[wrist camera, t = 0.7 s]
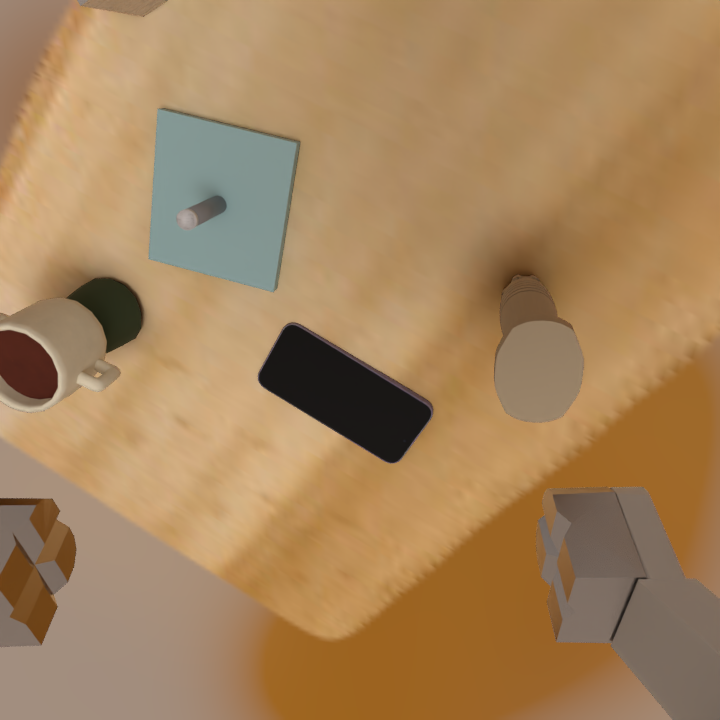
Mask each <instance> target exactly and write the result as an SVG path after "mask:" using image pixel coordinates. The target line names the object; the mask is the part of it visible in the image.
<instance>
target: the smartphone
mask: <svg viewBox="0 0 720 720" xmlns="http://www.w3.org/2000/svg"><path fill="white" fill-rule="evenodd" d="M258 381H259V383H260V384H261V386H262V387H264V388H265V389H266V390H268V391H270V392H271V393H273V394H275V395H276V396H278V397H280V398H281V399H283V400H285V401H286V402H288V403H289V404H291V405H293V406H294V407H296V408H298V409H299V410H301V411H303V412H304V413H306V414H308V415H309V416H311V417H312V418H314V419H316V420H317V421H319V422H321V423H322V424H324V425H326V426H327V427H329V428H331V429H332V430H334V431H335V432H337V433H339V434H340V435H342V436H344V437H345V438H347V439H349V440H350V441H352V442H354V443H355V444H357V445H358V446H360V447H362V448H363V449H365V450H367V451H368V452H370V453H372V454H373V455H375V456H377V457H378V458H380V459H381V460H383V461H385V462H387V463H397V462H399V461H400V460H401V459H402V458H403V456H404V455H405V454H406V452H407V451H408V450H409V448H410V447H411V445H412V444H413V443H414V441H415V440H416V439H417V437H418V436H419V435H420V433H421V432H422V431H423V429H424V428H425V426H426V425H427V424H428V422H429V421H430V420H431V418H432V414H433V407H432V405H431V403H430V402H429V401H427V400H426V399H424V398H423V397H421V396H420V395H418V394H416V393H415V392H413V391H411V390H410V389H408V388H406V387H405V386H403V385H401V384H400V383H398V382H396V381H395V380H393V379H391V378H390V377H388V376H386V375H385V374H383V373H381V372H380V371H378V370H376V369H375V368H373V367H371V366H369V365H368V364H366V363H364V362H363V361H361V360H359V359H358V358H356V357H354V356H353V355H351V354H349V353H348V352H346V351H344V350H342V349H341V348H339V347H337V346H336V345H334V344H332V343H331V342H329V341H327V340H326V339H324V338H322V337H321V336H319V335H317V334H316V333H314V332H312V331H310V330H309V329H307V328H305V327H304V326H302V325H300V324H298V323H289V324H287V325H286V326H285V327H284V328H283V330H282V331H281V333H280V335H279V337H278V339H277V340H276V342H275V344H274V346H273V348H272V349H271V351H270V353H269V355H268V357H267V359H266V360H265V362H264V364H263V366H262V368H261V370H260V371H259V374H258Z"/></svg>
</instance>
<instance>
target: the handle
mask: <svg viewBox="0 0 720 720" xmlns="http://www.w3.org/2000/svg"><path fill="white" fill-rule="evenodd" d="M539 281H540V280H539V279H538V277H536V276H534V275H531V276H521V275H519V274H518V275H515V276H513V279H512V281H511V283H510V284H509V285H508V286H507V287H506V288H504V290H503V292H502V298H501V304H500V324H501V329H502V333H503V337H502V339H501V341H500V343H499V345H498V347H497V349H496V355H495V367H494V383H495V388H496V392H497V395H498V397H499V399H500V402H501V404H502V406H503V408H504V410H505V412H506V413H507V414H508V415H510V416H512V417H514V418H516V419H518V420H522V421H526V422H539V423H542V422H549V421H553V420H556V419H558V418H561V417H563V415H564V414H565V413H566V411H567V410H568V409H569V407H570V406H571V405H572V403H573V402H574V400H575V399H576V397H577V395H578V393H579V391H580V388H581V384H582V376H583V369H584V358H583V354H582V350H581V348H580V345H579V342H578V340H577V337H576V335H575V332H574V330H573V327H572V325H571V324H570V323H568V322H567V321H565V320H563V319H561V318H559V317H557V311H556V308H555V305H554V302H553V299H552V297H551V295H550V293H549V292H548V290H547V289H546V288H545V286H544V285H542V284H541V283H540V282H539Z"/></svg>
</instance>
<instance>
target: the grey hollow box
mask: <svg viewBox="0 0 720 720" xmlns="http://www.w3.org/2000/svg"><path fill="white" fill-rule="evenodd" d="M77 1H78V2H79V4H80V6H84V7H90V8H96V9H101V10H107V11H113V12H119V13H125V14H130V15H136V16H142V17H144V16H145V15H147V14H148V13H150V12H151V11H153V10H154V9H156V8H157V7H159V6H160V5H162V4H163V3H165V2H166V1H168V0H77Z"/></svg>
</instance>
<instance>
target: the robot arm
mask: <svg viewBox="0 0 720 720" xmlns="http://www.w3.org/2000/svg"><path fill="white" fill-rule="evenodd" d="M542 505H543V510H544V514H545V515H544V516H543V517H542V518H540V519H539V520H538V525H537V531H536V552H537V559H538V565H539V569H540V574H541V577H542V578H543V579H544V580H545V581H546V582H547V583H548V584H549V585H550V586H551V588H550V592H549V596H548V600H547V605H548V609H549V613H550V617H551V622H552V626H553V630H554V634H555V639H556V642H581V643H582V642H583V643H585V642H586V643H612V644H611V647H612V648H613V649H614V650H615V652H616V653H617V654H618V655H619V656H620V658H621V659H622V660H623V661H624V662H625V663H626V665H627V666H628V667H629V668H630V669H631V671H632V672H633V673H634V674H635V675H636V677H637V678H638V679H639V680H640V681H641V683H642V684H643V685H644V686H645V687H646V688H647V690H648V691H649V692H650V693H651V694H652V696H653V697H654V698H655V699H656V700H657V702H658V703H659V704H660V705H661V706H662V708H664V710H665V711H666V712H667V713H668V715H669V716H670V717H671V718H672V719H673V720H720V598H718V597H717V596H716V595H715V594H714V593H712V592H711V591H710V590H709V589H708V588H706V587H705V586H704V585H703V584H702V583H701V582H699V581H698V580H697V579H690V578H689V579H688V578H686V577H685V575H684V573H683V571H682V568H681V566H680V564H679V561H678V559H677V557H676V554H675V552H674V550H673V548H672V546H671V543H670V541H669V538H668V536H667V534H666V531H665V529H664V527H663V525H662V522H661V520H660V518H659V515H658V513H657V511H656V508H655V506H654V504H653V501H652V499H651V497H650V495H649V493H648V491H647V490H646V489H645V488H644V487H612V488H608V487H585V488H553V489H547V490H546V491H545V493H544V496H543V500H542ZM59 512H60V510H59V508H58V507H57V505H56V504H55V502H54V500H53V499H37V498H31V499H30V498H0V647H10V646H35V645H36V646H39V645H42V643H43V641H44V638H45V636H46V633H47V631H48V628H49V626H50V624H51V621H52V619H53V617H54V614H55V612H56V610H57V607H58V606H57V604H56V600H55V597H54V594H55V593H56V592H57V591H58V590H60V589H61V588H62V587H63V586H64V585H65V584H66V583H68V581H69V578H70V576H71V573H72V571H73V568H74V564H75V556H76V544H75V538H74V535H73V533H72V531H71V530H70V528H69V527H68V526H66V525H65V524H63V523H61V522H60V521H58V520H57V517H58V515H59Z"/></svg>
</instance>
